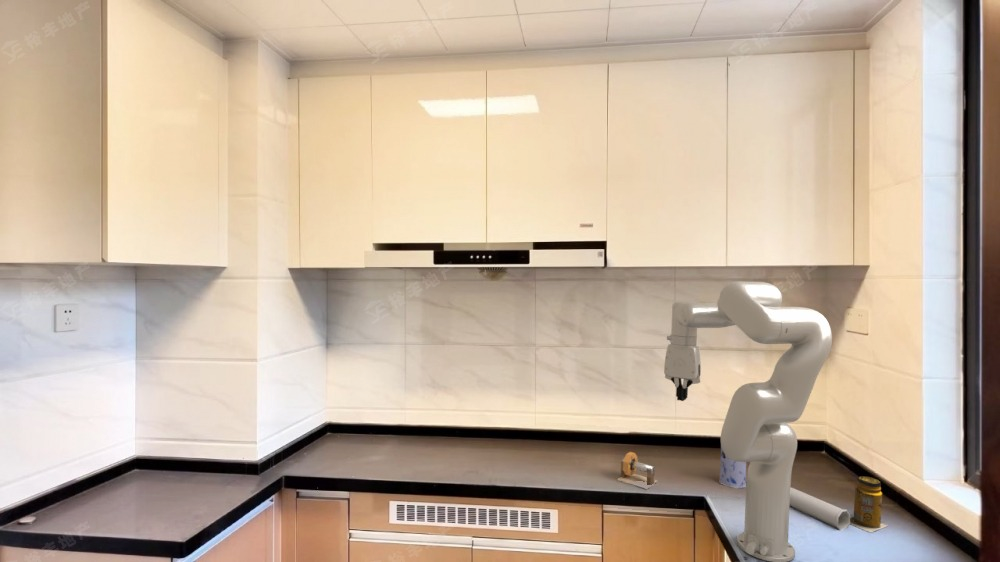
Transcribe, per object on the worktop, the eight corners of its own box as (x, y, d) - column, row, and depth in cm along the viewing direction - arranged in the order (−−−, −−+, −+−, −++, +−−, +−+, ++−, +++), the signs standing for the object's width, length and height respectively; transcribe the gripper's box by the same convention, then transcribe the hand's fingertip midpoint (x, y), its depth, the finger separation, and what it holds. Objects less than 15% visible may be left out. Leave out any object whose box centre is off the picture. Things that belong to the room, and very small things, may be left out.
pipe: (650, 476, 162) (650, 466, 162) (621, 467, 168) (621, 458, 168) (654, 473, 164) (655, 464, 164) (625, 465, 171) (625, 456, 171)
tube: (755, 480, 160) (835, 516, 137) (767, 472, 162) (848, 506, 139) (758, 496, 161) (839, 534, 138) (770, 488, 163) (852, 524, 140)
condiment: (887, 526, 141) (889, 482, 141) (871, 533, 137) (873, 488, 137) (858, 514, 147) (860, 472, 147) (841, 521, 143) (843, 477, 143)
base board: (646, 490, 160) (647, 472, 160) (617, 480, 167) (617, 463, 166) (657, 482, 166) (658, 465, 166) (628, 473, 173) (629, 457, 173)
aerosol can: (716, 477, 171) (718, 416, 171) (742, 479, 170) (744, 418, 170) (722, 487, 164) (724, 423, 163) (749, 489, 162) (751, 425, 162)
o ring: (627, 477, 165) (628, 457, 165) (622, 476, 166) (623, 455, 166) (637, 471, 170) (637, 451, 170) (632, 470, 171) (632, 450, 171)
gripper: (655, 339, 165) (653, 397, 165) (704, 345, 155) (701, 406, 155) (665, 337, 170) (663, 393, 171) (712, 342, 161) (710, 402, 161)
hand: (681, 399), depth 163 cm, fingers closed
